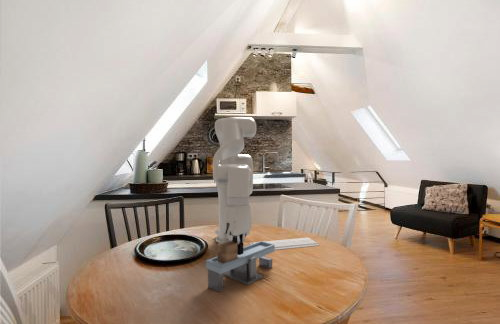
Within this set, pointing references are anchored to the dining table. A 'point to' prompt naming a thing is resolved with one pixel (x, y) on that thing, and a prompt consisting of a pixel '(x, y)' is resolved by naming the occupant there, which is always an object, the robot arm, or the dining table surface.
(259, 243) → the beam
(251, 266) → the stand
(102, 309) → the dining table surface
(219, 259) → the rider
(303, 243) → the baseboard molding
